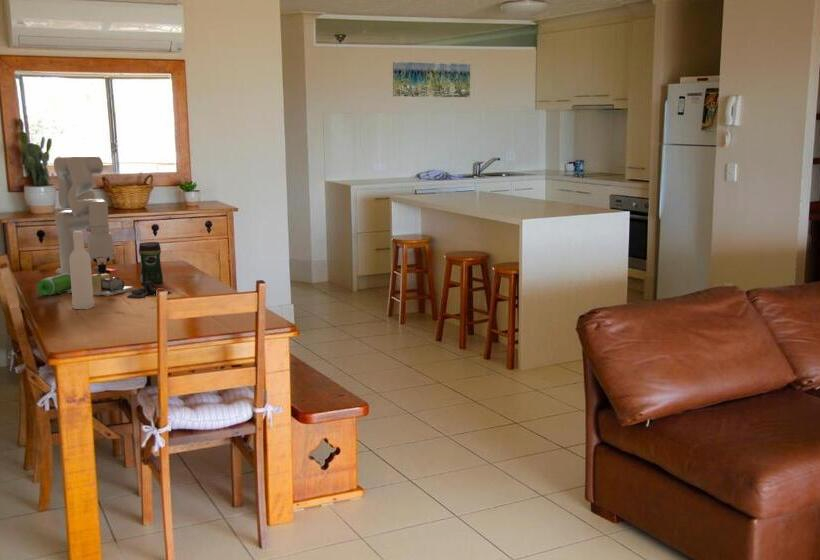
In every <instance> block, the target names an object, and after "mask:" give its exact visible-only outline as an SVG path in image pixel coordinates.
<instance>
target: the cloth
mask: <svg viewBox="0 0 820 560" xmlns="http://www.w3.org/2000/svg"><path fill="white" fill-rule="evenodd" d="M158 288H159V287H157V285H156V284H153V283H152V282H151V281H147V282H145V284H144V286H143V288H142V287H139V288H136V289H133V290H130V292H129V293H132V294H129V295H127V296H126V297H127V298H126V299H140V298H144V299H146V298H147V297H146V296H148V297H150V296H155V297H154V298H156V290H157V289H158ZM164 288H165V289H166V290H167V291H168V294H167V295H170V294H173V292H172V291H169V290H168V289H167V288H166V287H164ZM154 294H155V295H154ZM149 295H150V296H149ZM145 297H146V298H145Z"/></svg>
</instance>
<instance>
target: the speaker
mask: <svg viewBox="0 0 820 560" xmlns="http://www.w3.org/2000/svg"><path fill="white" fill-rule="evenodd" d="M70 289H71V277H70V274H69V273H63V274H60V273H58V274H56V275H52V276H49V277H45V278H43V279H41V280H39V282H38V283H37V291H38V292H39V294H41V296H46V295H49V296H52V294H54V295H57V294H56V293H58V294H60V293H59V292H62V293H64V292H63V291H65V292H66V290H70Z"/></svg>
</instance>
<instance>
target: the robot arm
mask: <svg viewBox="0 0 820 560" xmlns="http://www.w3.org/2000/svg"><path fill="white" fill-rule="evenodd" d="M53 168H54V172H55V174H56V177H57V183H58V185H57V186H58V187H57V188H58V191H57V192H58V195H57V196H58V204H59V206H60V207H61V208H62V209H65V210H60V211H58V212H57V213H56V214H55V215H54V216H55V217H54V221H55V226H56V229H57V231H56V232H57V235H58V245H59V258H60V259H59V260H60V268H59V267H58V268H57V269H56V270H55V273H56V274H63V273H69V274H70V263H69V258H70V254H71V253H72V252H73V251H74V239H73V232H75V231H84V230H85V231H86V232H88V233H87V252H88V253H89V255H90V258H91V262H94V263H96V264H97V267H98V271H99V272H100V274H106V273H105V272H106V268H107V263H108V262H110V261H112V260H114V259H116V256H115V249H114V248H115V247H114V242H113V241H114V240H113V239H114V238H113V234H112V233H111V232H110V227H109V225H110V224H109V211H108V209H109V208H108V207H109V206H108V202H107V201H106V200H104V199H103V198H98V197H97V198H96V195H95V191H94V190H93V188H94V186H95V184H96V182H95V179H94V176H93V175H101V174H102V172H103V171H104V164H103V161H102V159H101V157H100V156H99V155H97V154H87V155H85V154H82V155H80V154H79V155H61V156H56V157H55V158H54V159H53ZM101 258H102V262H101V260H100V259H101Z"/></svg>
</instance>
